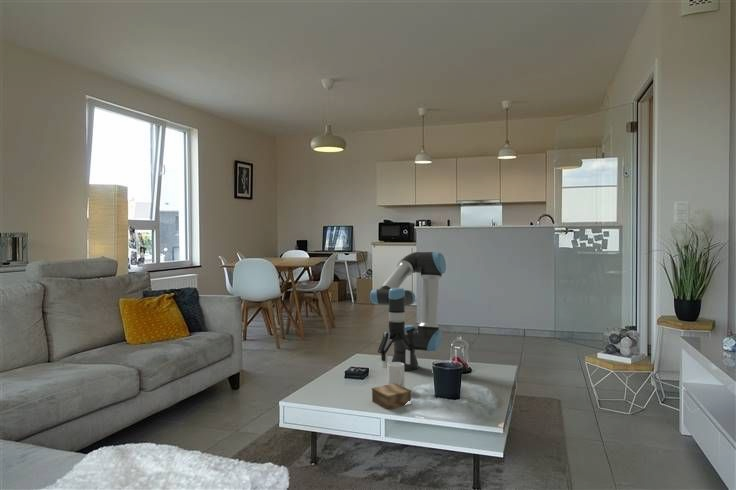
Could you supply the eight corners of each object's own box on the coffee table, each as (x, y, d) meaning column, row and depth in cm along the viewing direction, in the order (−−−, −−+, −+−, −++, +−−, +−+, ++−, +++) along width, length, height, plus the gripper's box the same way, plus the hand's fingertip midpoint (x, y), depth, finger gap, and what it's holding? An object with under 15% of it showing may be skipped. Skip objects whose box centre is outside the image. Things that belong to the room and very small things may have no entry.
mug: (409, 393, 224) (409, 367, 224) (392, 394, 222) (392, 368, 222) (401, 385, 235) (401, 361, 235) (384, 387, 233) (384, 362, 233)
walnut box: (394, 396, 219) (394, 383, 219) (411, 404, 209) (411, 390, 209) (371, 401, 212) (371, 388, 212) (388, 410, 202) (388, 395, 202)
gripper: (412, 317, 238) (412, 360, 238) (370, 322, 224) (370, 367, 224) (422, 319, 232) (421, 363, 232) (379, 324, 218) (379, 371, 218)
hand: (396, 365), depth 228 cm, fingers open, 13 cm apart
